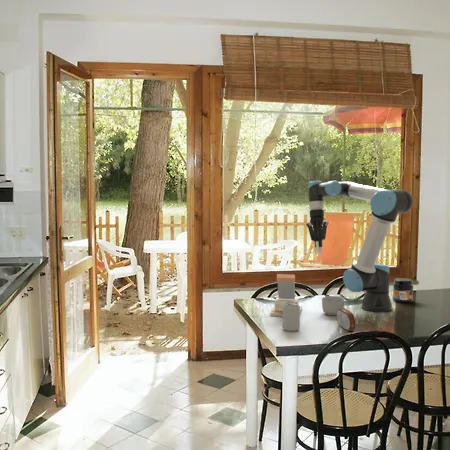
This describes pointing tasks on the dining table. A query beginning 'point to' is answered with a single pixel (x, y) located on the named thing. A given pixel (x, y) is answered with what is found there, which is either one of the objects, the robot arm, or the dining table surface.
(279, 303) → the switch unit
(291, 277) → the grey orange box
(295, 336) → the dining table surface
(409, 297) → the supplement container
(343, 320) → the tin
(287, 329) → the can
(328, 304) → the light grey rounded block
